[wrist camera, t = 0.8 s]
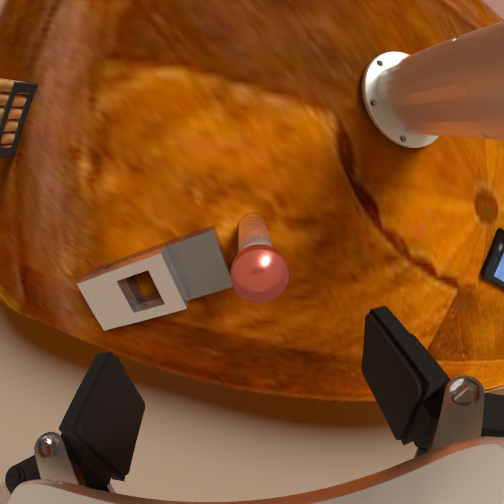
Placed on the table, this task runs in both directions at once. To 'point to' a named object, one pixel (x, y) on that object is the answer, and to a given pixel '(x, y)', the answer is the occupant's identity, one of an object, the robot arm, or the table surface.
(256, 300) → the pin
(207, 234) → the chain link
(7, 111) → the ammunition clip
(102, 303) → the chain link
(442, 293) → the table surface
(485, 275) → the game console
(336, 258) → the table surface
